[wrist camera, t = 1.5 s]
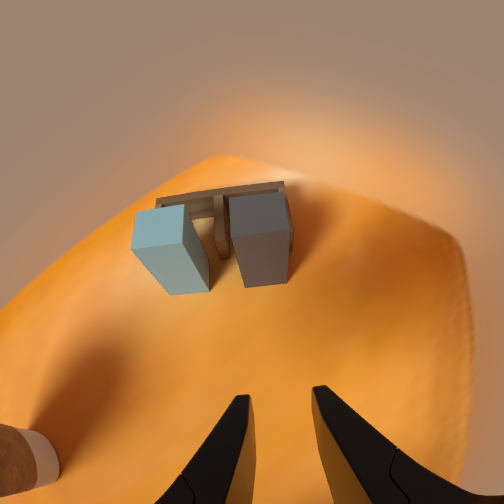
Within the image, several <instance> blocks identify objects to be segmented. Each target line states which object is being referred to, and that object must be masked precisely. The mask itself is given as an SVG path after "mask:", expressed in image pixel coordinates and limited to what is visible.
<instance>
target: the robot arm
mask: <svg viewBox="0 0 504 504" xmlns="http://www.w3.org/2000/svg"><path fill="white" fill-rule="evenodd" d="M312 414H313V420H314V426H315V432H316V438H317V445H318V450H319V454H320V458H321V461H322V465H323V468H324V471H325V474H326V478H327V481H328V484H329V487H330V491H331V494H332V497H333V500H334V504H504V495H502V496H501V495H500V496H484V495H477V494H473V493H470V492H468V491H465V490H463V489H461V488H460V487H458V486H456V485H454V484H452V483H450V482H448V481H447V480H445V479H443V478H441V477H439V476H438V475H436V474H434V473H432V472H431V471H429V470H428V469H426V468H424V467H423V466H421V465H420V464H418V463H417V462H416V461H414V460H413V459H412V458H410V457H409V456H408V455H406V454H405V453H404V452H403V451H401V450H400V449H399V448H397V447H396V446H395V445H394V444H393V443H392V442H390V441H389V440H388V439H387V438H386V437H385V436H383V435H382V434H381V433H380V432H379V431H377V430H376V429H375V428H374V427H373V426H372V425H370V424H369V423H368V422H367V421H366V420H365V419H363V418H362V417H361V416H360V415H359V414H358V413H357V412H355V411H354V410H353V409H352V408H351V407H350V406H349V405H347V404H346V403H345V402H344V401H343V400H342V399H341V398H340V397H339V396H337V395H336V394H335V393H334V392H333V391H332V390H331V389H330V388H329V387H327V386H326V385H321V386H314V387H313V388H312ZM255 469H256V443H255V424H254V412H253V407H252V401H251V397H250V395H249V394H245V395H237V396H235V398H234V399H233V401H232V402H231V404H230V405H229V407H228V408H227V409H226V411H225V412H224V414H223V415H222V417H221V418H220V420H219V421H218V423H217V424H216V425H215V427H214V428H213V430H212V431H211V432H210V434H209V435H208V437H207V438H206V440H205V441H204V442H203V444H202V445H201V446H200V448H199V449H198V451H197V452H196V453H195V455H194V456H193V457H192V459H191V460H190V461H189V463H188V464H187V465H186V467H185V468H184V469H183V471H182V472H181V474H182V475H181V474H180V475H179V476H178V477H177V478H176V480H175V481H174V482H173V484H172V485H171V486H170V487H169V488H168V489H167V491H166V492H165V493H164V494H163V495H162V496H161V497H160V498H159V499H158V500H157V501H156V502H155V503H154V504H252V499H253V489H254V479H255Z"/></svg>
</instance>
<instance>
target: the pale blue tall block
mask: <svg viewBox="0 0 504 504" xmlns="http://www.w3.org/2000/svg"><path fill="white" fill-rule="evenodd" d="M131 250H132V251H133V253H134V254H135V255H136V256H137V257H138V259H139V260H140V261H141V262H142V263H143V265H144V266H145V267H146V268H147V269H148V270H149V272H150V273H151V274H152V275H153V276H154V277H155V278H156V280H157V281H158V282H159V283H160V284H161V285H162V286H163V288H164V289H165V290H166V291H167V292H168V293H169V294H170V295H178V294H189V293H200V292H210V290H209V259H208V257H207V255H206V253H205V251H204V248H203V246H202V244H201V242H200V239H199V237H198V235H197V233H196V230H195V228H194V226H193V223H192V221H191V219H190V216H189V214H188V212H187V209H186V207H185V205H184V204H182V205H175V206H169V207H163V208H157V209H151V210H145V211H139V212H137V213H136V219H135V225H134V231H133V238H132V245H131Z"/></svg>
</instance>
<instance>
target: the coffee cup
mask: <svg viewBox="0 0 504 504" xmlns="http://www.w3.org/2000/svg"><path fill="white" fill-rule="evenodd" d="M59 471H60V468H59V461H58V457H57V454H56V452H55V450H54V448H53V446H52V444H51V443H50V442H49V441H48V439H47V438H46V437H45V436H43V435H42V434H41V433H39V432H36V431H31V430H26V429H20V428H15V427H12V426H8V425H4V424H0V497H4V496H9V495H13V494H17V493H21V492H25V491H28V490H31V489H34V488H38V487H42V486H46V485H49V484H53V483H54V482H56V480H57V479H58V476H59Z"/></svg>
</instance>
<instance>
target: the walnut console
mask: <svg viewBox="0 0 504 504" xmlns="http://www.w3.org/2000/svg"><path fill="white" fill-rule="evenodd" d="M274 192H283V196H284V201H285V206H286V211H287V217H288V222H289V227H290V240H289V251H292V249H293V235H294V231H293V225H292V220H291V215H290V210H289V205H288V200H287V195H286V191H285V186H284V181H278V182H269V183H260V184H251V185H243V186H235V187H227V188H220V189H213V190H206V191H199V192H192V193H186V194H180V195H174V196H168V197H162V198H157V199H156V206H155V209H157V208H163V207H169V206H175V205H182V204H184V205H185V207H186V209H187V212H188V214H189V216H190V219H191V220H192V219H200V218H207V217H214V240H215V244H216V246H217V249H218V252H219V255H220V257H221V259H223V258H230V248H229V229H228V215H230V209H229V198H232V197H240V196H248V195H256V194H265V193H274Z"/></svg>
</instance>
